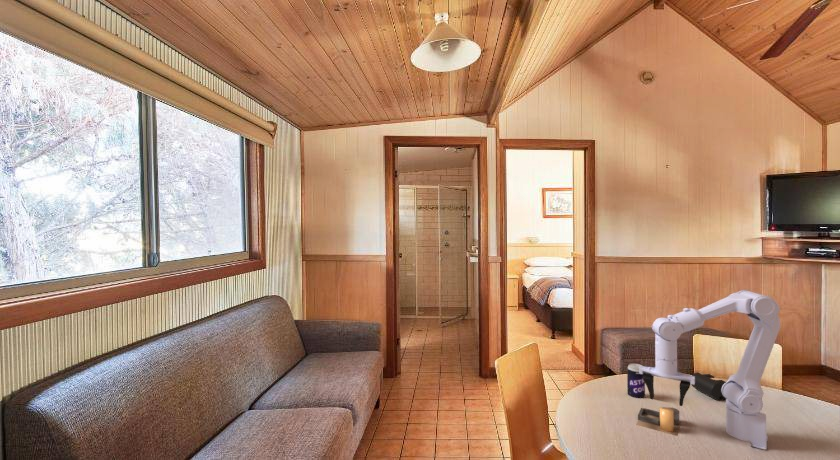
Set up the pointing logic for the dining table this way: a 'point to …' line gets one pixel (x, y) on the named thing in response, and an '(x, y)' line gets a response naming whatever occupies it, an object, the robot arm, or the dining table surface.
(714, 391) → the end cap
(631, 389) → the beverage can
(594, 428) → the dining table surface
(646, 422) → the housing
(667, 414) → the orange capsule
